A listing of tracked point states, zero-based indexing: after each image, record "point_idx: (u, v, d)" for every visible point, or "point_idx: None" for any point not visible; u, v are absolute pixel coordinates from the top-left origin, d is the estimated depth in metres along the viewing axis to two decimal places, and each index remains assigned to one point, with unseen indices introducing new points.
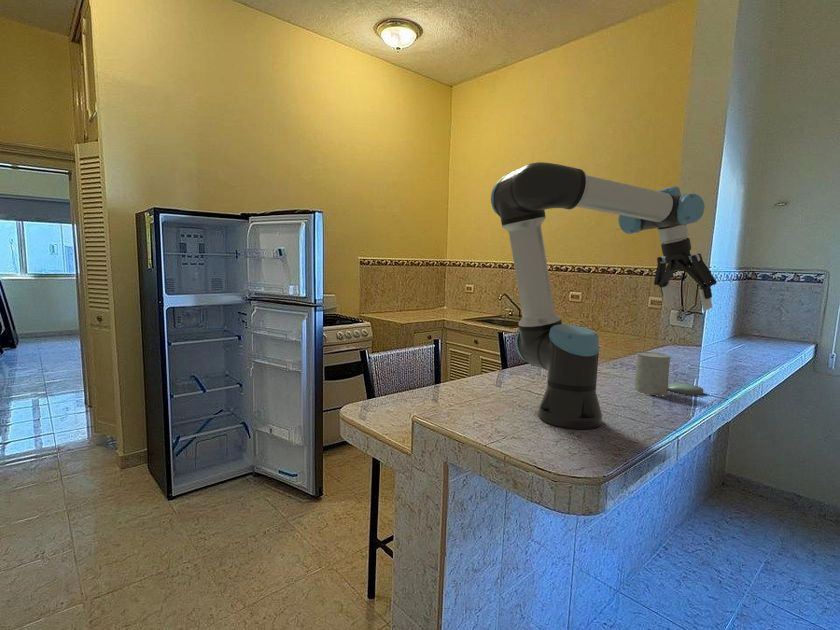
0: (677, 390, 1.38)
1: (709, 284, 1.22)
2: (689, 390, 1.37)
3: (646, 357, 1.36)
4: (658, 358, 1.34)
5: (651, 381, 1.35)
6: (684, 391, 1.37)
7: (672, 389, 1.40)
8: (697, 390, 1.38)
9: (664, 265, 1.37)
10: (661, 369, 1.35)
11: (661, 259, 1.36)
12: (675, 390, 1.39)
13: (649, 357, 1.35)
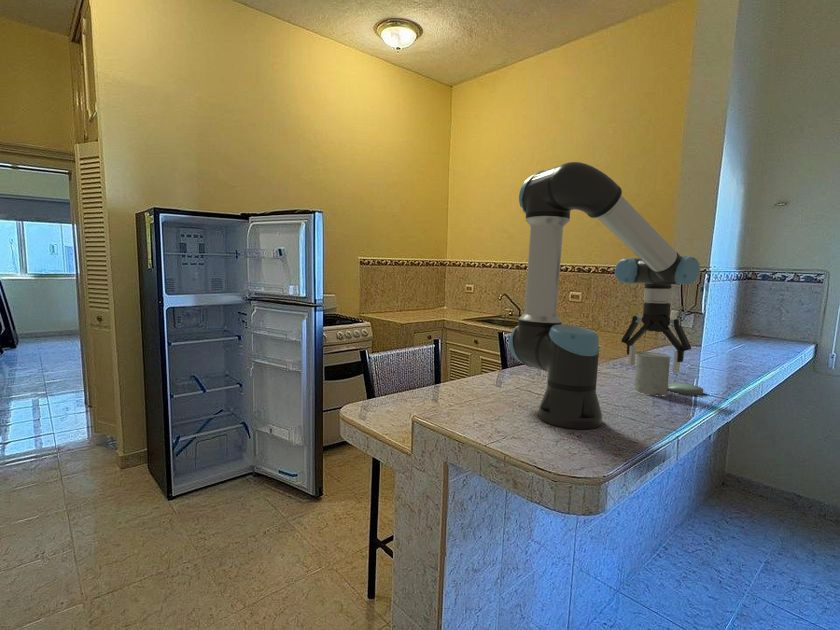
0: (677, 390, 1.38)
1: (687, 348, 1.30)
2: (689, 390, 1.37)
3: (646, 357, 1.36)
4: (658, 358, 1.34)
5: (651, 381, 1.35)
6: (684, 391, 1.37)
7: (672, 389, 1.40)
8: (697, 390, 1.38)
9: (636, 325, 1.43)
10: (661, 369, 1.35)
11: (636, 318, 1.42)
12: (675, 390, 1.39)
13: (649, 357, 1.35)
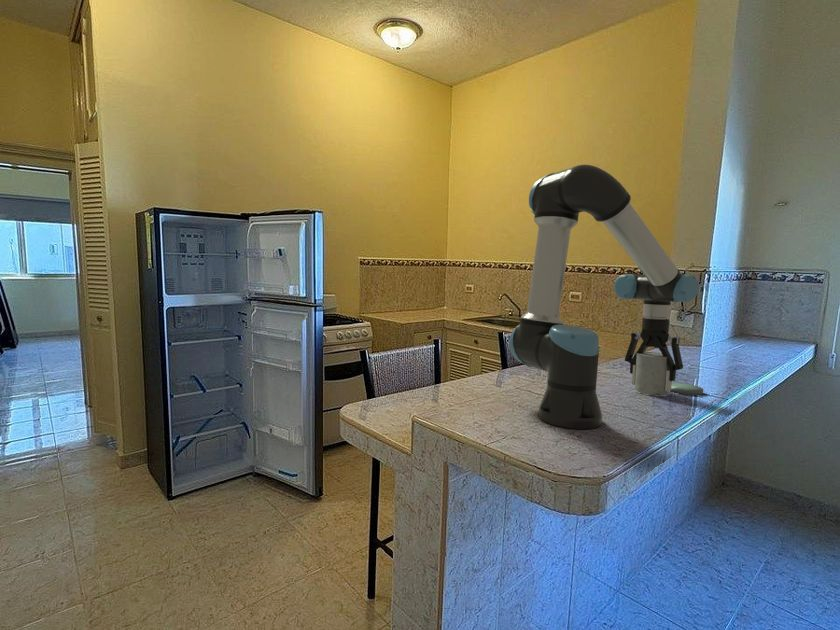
0: (677, 390, 1.38)
1: (679, 368, 1.32)
2: (689, 390, 1.37)
3: (646, 357, 1.36)
4: (658, 358, 1.34)
5: (651, 381, 1.36)
6: (684, 391, 1.37)
7: (672, 389, 1.40)
8: (697, 390, 1.38)
9: (636, 342, 1.43)
10: (661, 369, 1.35)
11: (635, 335, 1.42)
12: (675, 390, 1.39)
13: (649, 357, 1.35)
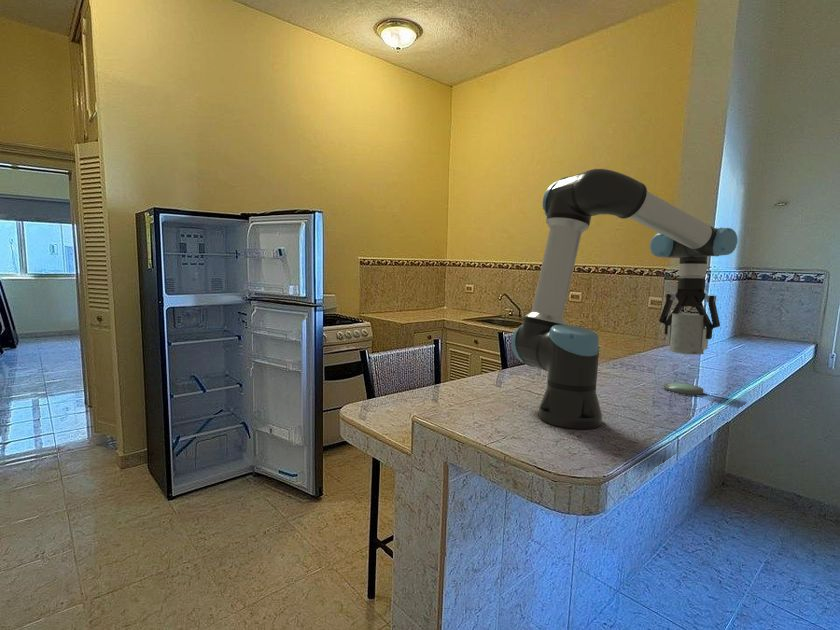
0: (677, 390, 1.38)
1: (716, 325, 1.33)
2: (689, 390, 1.37)
3: (683, 316, 1.37)
4: (695, 316, 1.36)
5: (687, 339, 1.37)
6: (684, 391, 1.37)
7: (672, 389, 1.40)
8: (697, 390, 1.38)
9: (671, 303, 1.44)
10: (698, 327, 1.36)
11: (670, 296, 1.43)
12: (675, 390, 1.39)
13: (686, 315, 1.37)
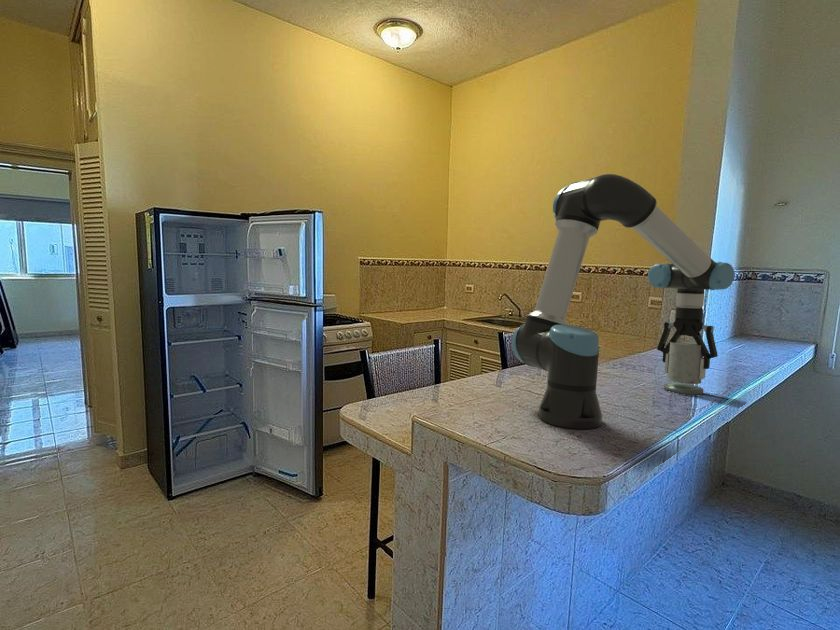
0: (677, 390, 1.38)
1: (714, 356, 1.34)
2: (689, 390, 1.37)
3: (680, 345, 1.38)
4: (693, 346, 1.36)
5: (685, 369, 1.38)
6: (684, 391, 1.37)
7: (672, 389, 1.40)
8: (697, 390, 1.38)
9: (669, 331, 1.45)
10: (695, 357, 1.37)
11: (668, 324, 1.44)
12: (675, 390, 1.39)
13: (683, 345, 1.37)
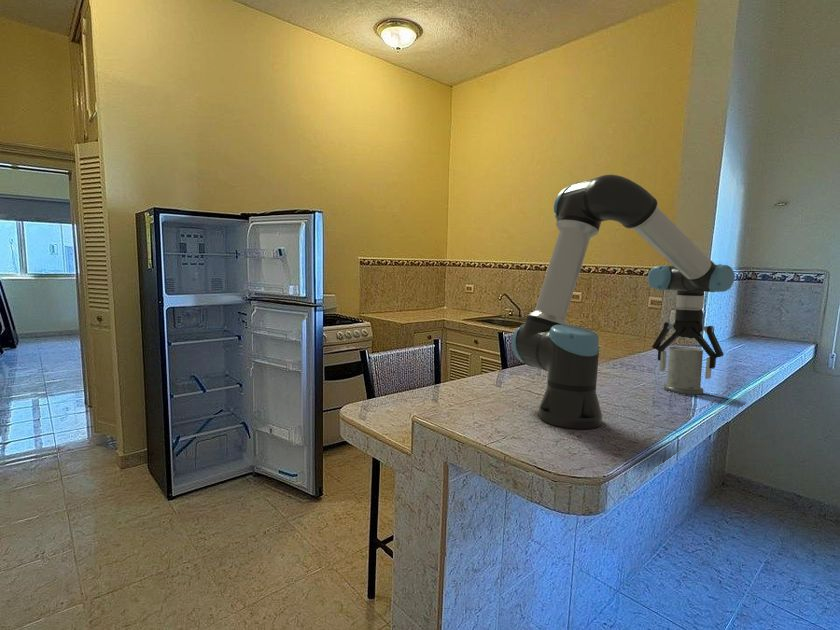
0: (677, 390, 1.38)
1: (720, 355, 1.33)
2: (689, 390, 1.37)
3: (679, 351, 1.38)
4: (692, 352, 1.37)
5: (684, 374, 1.38)
6: (684, 391, 1.37)
7: (672, 389, 1.40)
8: (697, 390, 1.38)
9: (667, 331, 1.46)
10: (695, 363, 1.37)
11: (668, 324, 1.44)
12: (675, 390, 1.39)
13: (683, 351, 1.38)
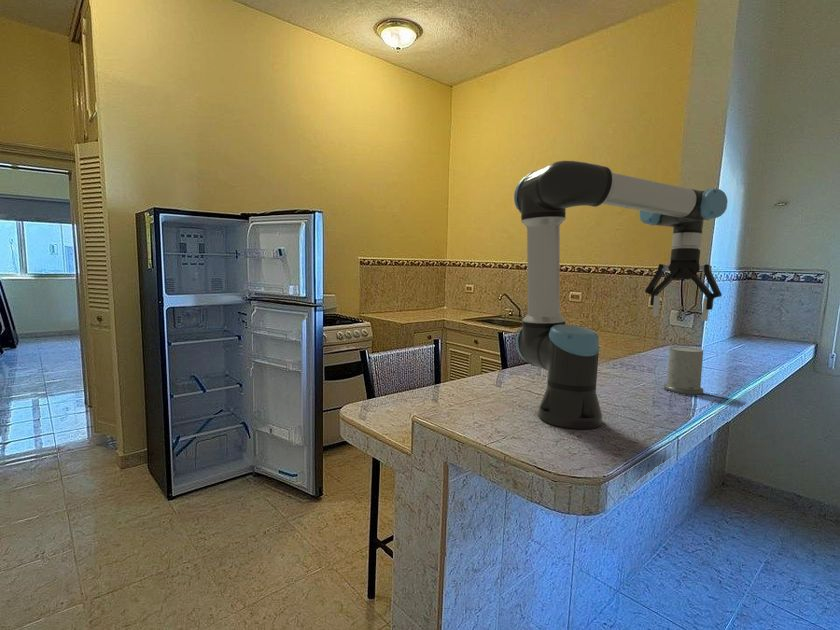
0: (677, 390, 1.38)
1: (718, 294, 1.24)
2: (689, 390, 1.37)
3: (680, 351, 1.38)
4: (692, 352, 1.36)
5: (685, 375, 1.38)
6: (684, 391, 1.37)
7: (672, 389, 1.40)
8: (697, 390, 1.38)
9: (662, 274, 1.37)
10: (695, 363, 1.37)
11: (663, 266, 1.35)
12: (675, 390, 1.39)
13: (683, 351, 1.37)
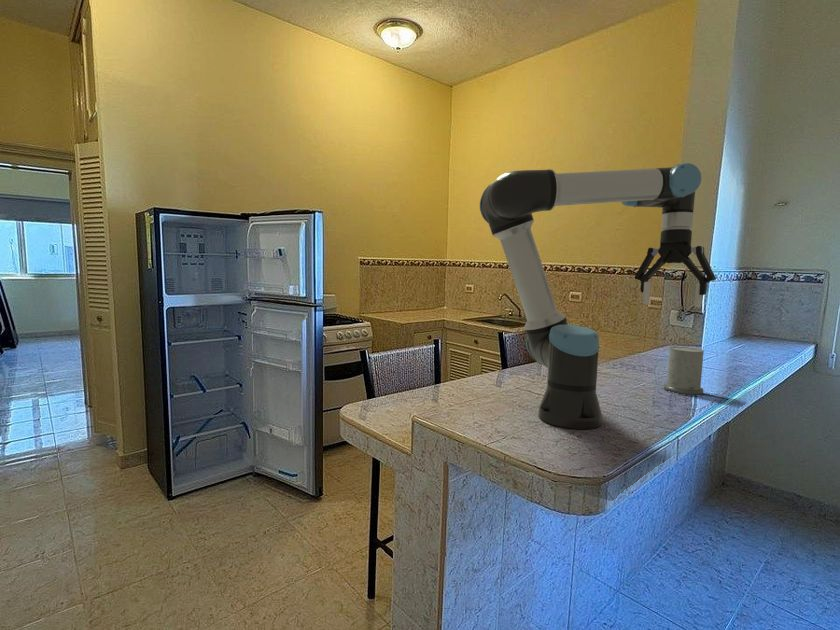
0: (677, 390, 1.38)
1: (711, 278, 1.14)
2: (689, 390, 1.37)
3: (680, 351, 1.38)
4: (692, 352, 1.36)
5: (685, 375, 1.38)
6: (684, 391, 1.37)
7: (672, 389, 1.40)
8: (697, 390, 1.38)
9: (652, 258, 1.27)
10: (695, 363, 1.37)
11: (652, 250, 1.26)
12: (675, 390, 1.39)
13: (683, 351, 1.37)
